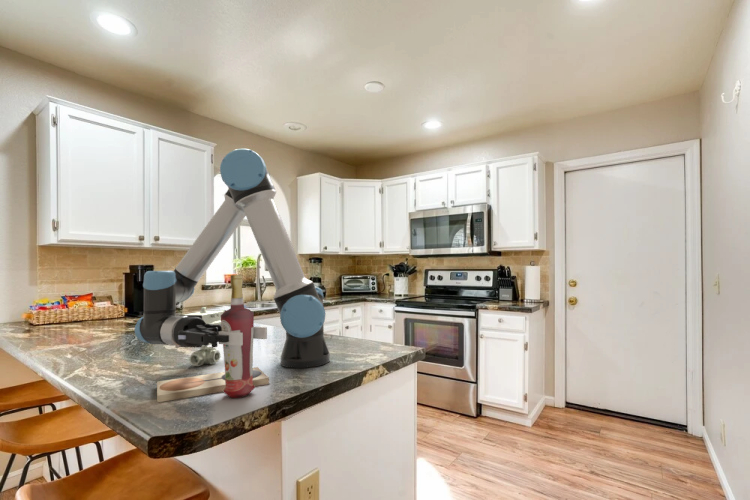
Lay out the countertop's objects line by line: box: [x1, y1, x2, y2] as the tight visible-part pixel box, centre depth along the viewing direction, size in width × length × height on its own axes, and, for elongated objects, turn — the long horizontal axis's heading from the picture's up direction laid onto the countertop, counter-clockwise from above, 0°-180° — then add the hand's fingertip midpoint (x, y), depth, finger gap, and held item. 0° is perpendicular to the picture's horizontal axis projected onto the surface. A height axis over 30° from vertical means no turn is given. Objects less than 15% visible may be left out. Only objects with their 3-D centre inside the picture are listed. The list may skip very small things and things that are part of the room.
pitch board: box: [156, 366, 270, 403], centre depth 99 cm, size 25×13×4 cm, turn 119°
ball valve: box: [178, 306, 227, 367], centre depth 123 cm, size 18×8×18 cm, turn 168°
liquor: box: [221, 274, 256, 399], centre depth 91 cm, size 7×7×28 cm
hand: (254, 336), depth 89 cm, fingers closed on liquor, 7 cm apart
